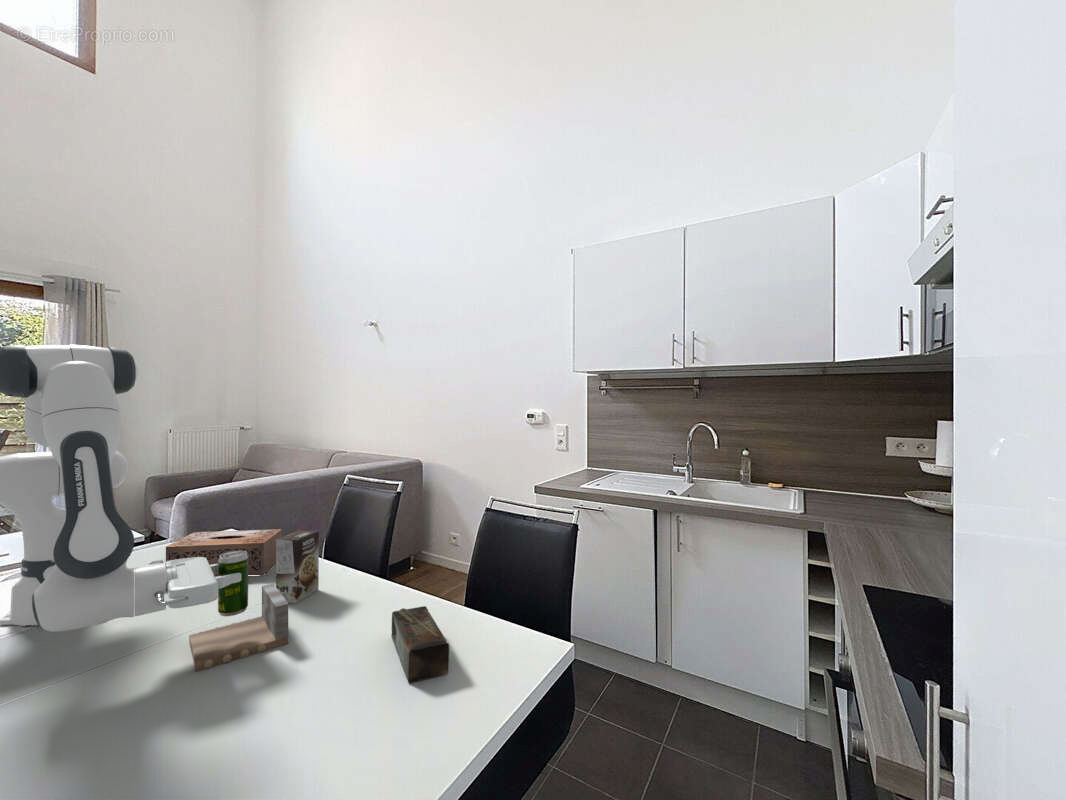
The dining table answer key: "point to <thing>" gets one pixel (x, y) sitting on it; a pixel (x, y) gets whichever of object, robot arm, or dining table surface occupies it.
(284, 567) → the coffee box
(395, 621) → the beverage carton
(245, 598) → the green soda can
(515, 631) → the dining table surface
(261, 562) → the tissue box cover
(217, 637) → the roller pallet
